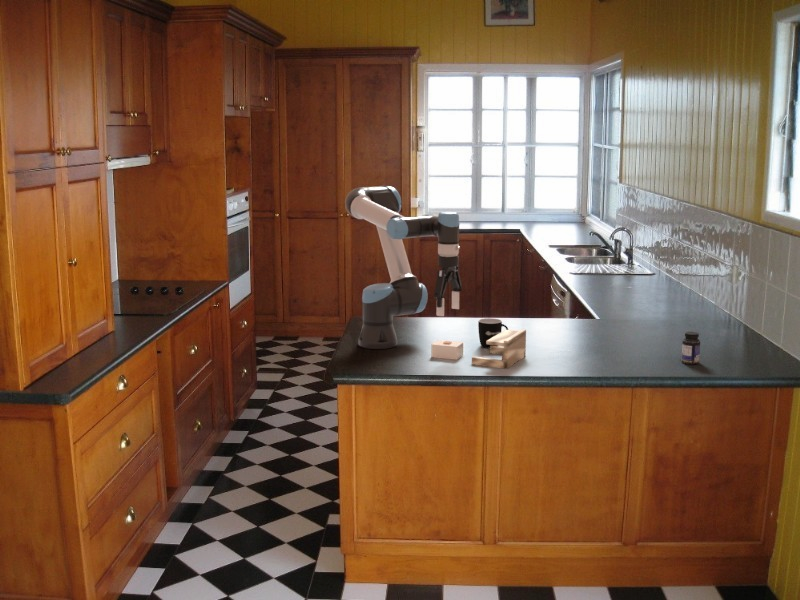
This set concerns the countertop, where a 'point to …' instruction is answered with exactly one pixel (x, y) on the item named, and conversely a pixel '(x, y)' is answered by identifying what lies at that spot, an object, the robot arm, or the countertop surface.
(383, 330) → the robot arm
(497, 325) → the mug
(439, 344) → the cream white block
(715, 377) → the countertop surface
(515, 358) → the shelf
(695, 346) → the pill bottle
